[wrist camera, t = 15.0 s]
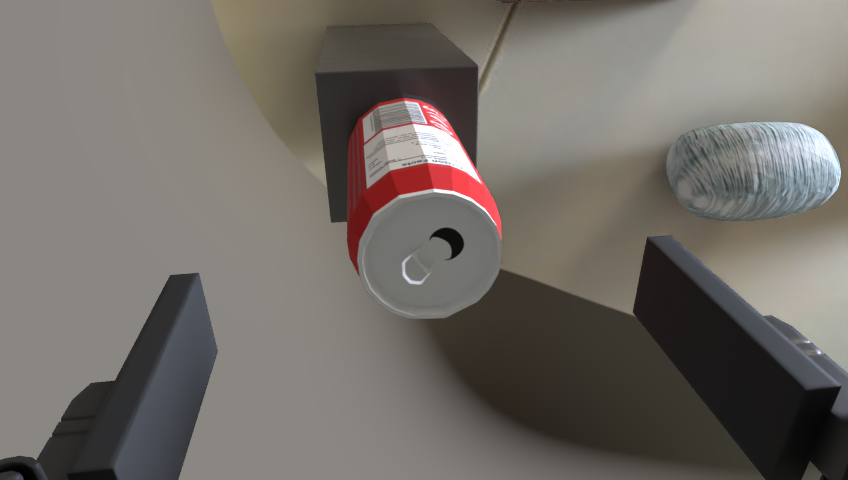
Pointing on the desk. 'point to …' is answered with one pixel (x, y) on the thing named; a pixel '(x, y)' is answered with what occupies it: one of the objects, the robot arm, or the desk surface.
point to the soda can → (418, 213)
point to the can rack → (515, 0)
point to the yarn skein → (752, 170)
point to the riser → (389, 88)
